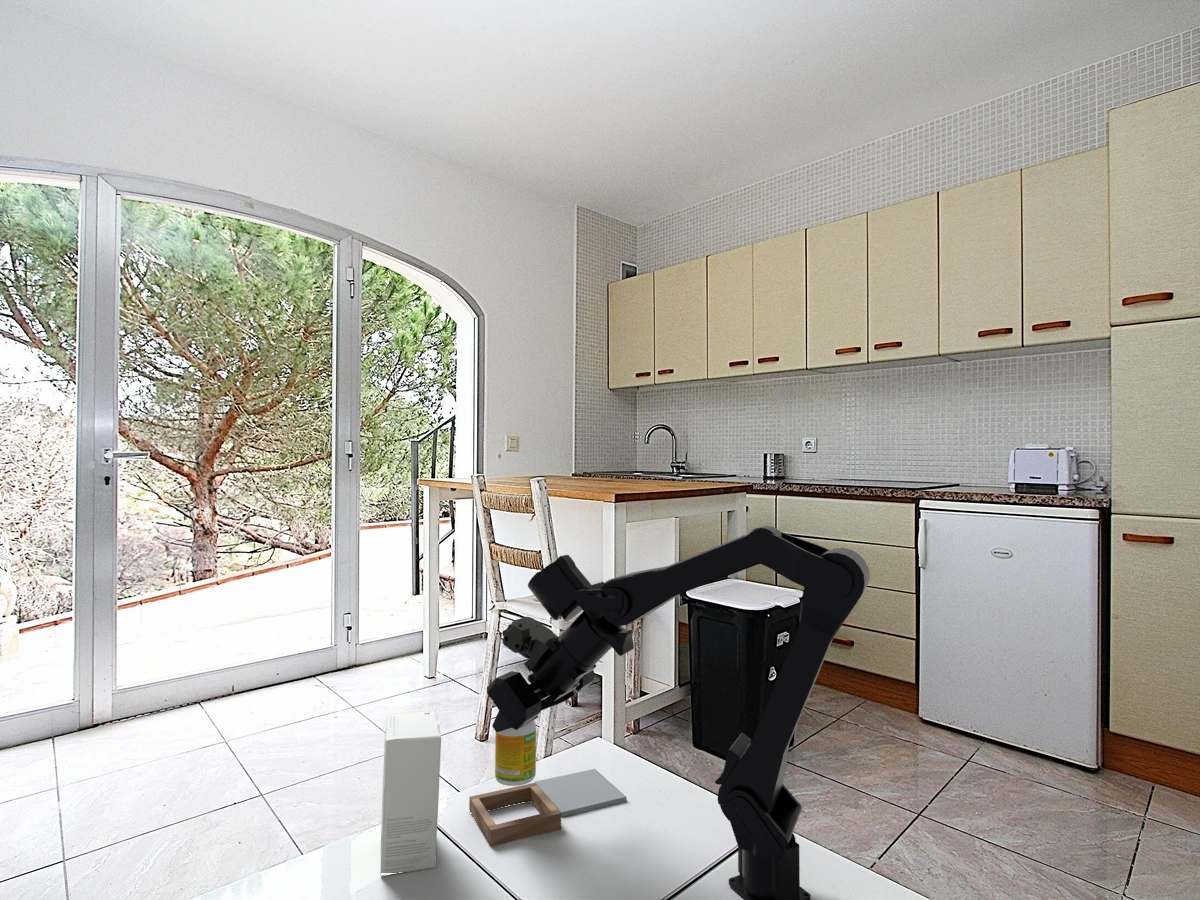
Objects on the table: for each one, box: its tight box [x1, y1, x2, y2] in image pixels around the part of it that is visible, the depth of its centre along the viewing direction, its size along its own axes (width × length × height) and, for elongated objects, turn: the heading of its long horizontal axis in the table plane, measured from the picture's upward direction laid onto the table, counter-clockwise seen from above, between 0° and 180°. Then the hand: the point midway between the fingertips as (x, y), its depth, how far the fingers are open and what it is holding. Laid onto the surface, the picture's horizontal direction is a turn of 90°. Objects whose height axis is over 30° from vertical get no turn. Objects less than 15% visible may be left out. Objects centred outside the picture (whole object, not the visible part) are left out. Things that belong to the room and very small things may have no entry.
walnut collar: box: [468, 782, 562, 848], centre depth 87 cm, size 10×10×2 cm
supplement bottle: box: [494, 720, 537, 787], centre depth 87 cm, size 5×5×10 cm
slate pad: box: [534, 768, 627, 818], centre depth 95 cm, size 10×10×1 cm
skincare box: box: [380, 710, 442, 874], centre depth 79 cm, size 8×7×16 cm
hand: (507, 721), depth 88 cm, fingers closed on supplement bottle, 5 cm apart
